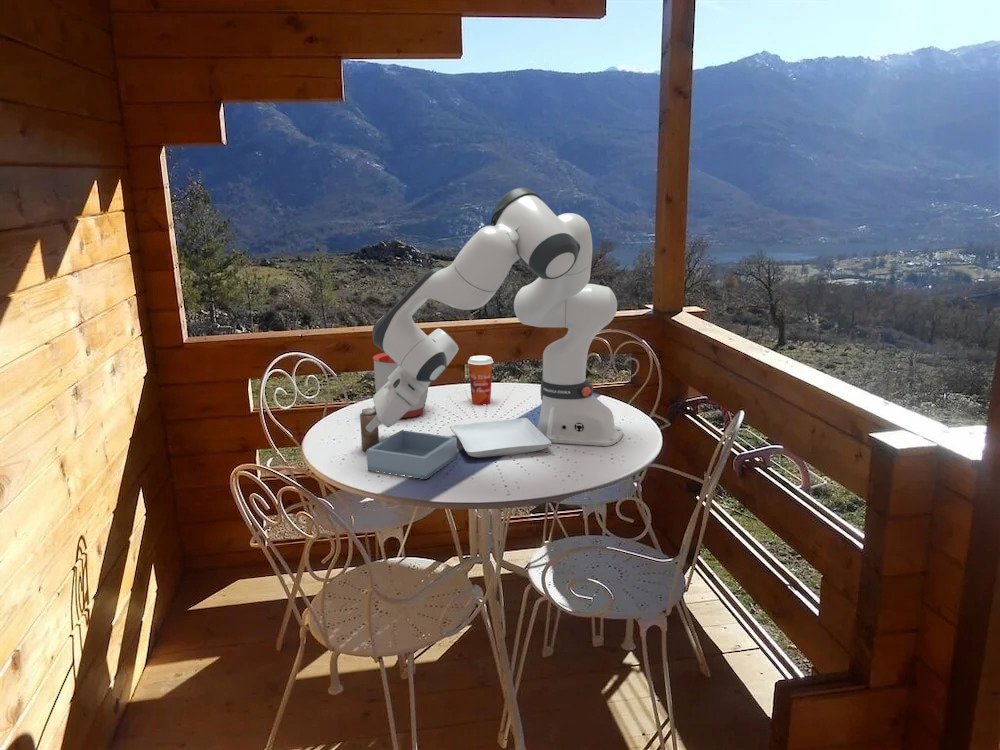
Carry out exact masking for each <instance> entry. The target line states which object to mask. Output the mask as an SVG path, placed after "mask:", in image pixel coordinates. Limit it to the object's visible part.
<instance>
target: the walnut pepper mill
mask: <svg viewBox="0 0 1000 750" xmlns="http://www.w3.org/2000/svg"><path fill="white" fill-rule="evenodd" d="M376 415H377V413H376V412H375V409H373V407H370V408H369V407H367V408H364V409H362V410H361V413H359V420H360V421H359V422H360V436H361V438H360V439H361V450H362V451H363V452H366V453H367V449H369V448H371V447H372V446H374V445H376V444H378V443H380V438H379V437H380V435H379V434H380V433H379V426H378V427H376V428H375V429H374V430H373V431H372V432H369V431H367V430H366V425H367V424H368V423H369V422H371V421H372V420H373V419H374V417H375V416H376Z"/></svg>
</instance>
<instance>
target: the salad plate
mask: <svg viewBox="0 0 1000 750" xmlns="http://www.w3.org/2000/svg"><path fill="white" fill-rule="evenodd" d="M449 428H450V430H451V432H452V433H453V434H454V435H455V436H456V438H457V439H458V440H459V442H460V443H461V446H462V448H463V450H464V451H465V452H466V454H467V455H468V456H470V457H473V458H491V457H501V456H508V455H509V456H511V455H517V454H526V453H527V454H528V453H533V452H539V451H542V450H545V449H548V448H549V447H550V446H552V443H551V441H550V440H549V439H548V438H547V437H546V436H545V435H544V434H543V433H541V432H540V431H539V430H538V429H537V426H536V425H535V424H533V422H531V421H530V420H529V419H528V418H526V417H521V418H511V419H500V420H490V421H489V420H488V421H479V422H472V423H463V424H462V423H461V424H454V425H450V426H449Z"/></svg>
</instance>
